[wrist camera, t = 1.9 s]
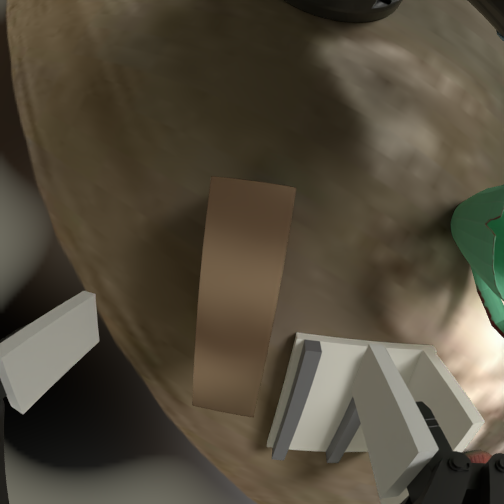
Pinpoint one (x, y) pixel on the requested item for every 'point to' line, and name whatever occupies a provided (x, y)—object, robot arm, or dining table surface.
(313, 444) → the track sill
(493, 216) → the mug
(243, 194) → the door slab
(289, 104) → the dining table surface
